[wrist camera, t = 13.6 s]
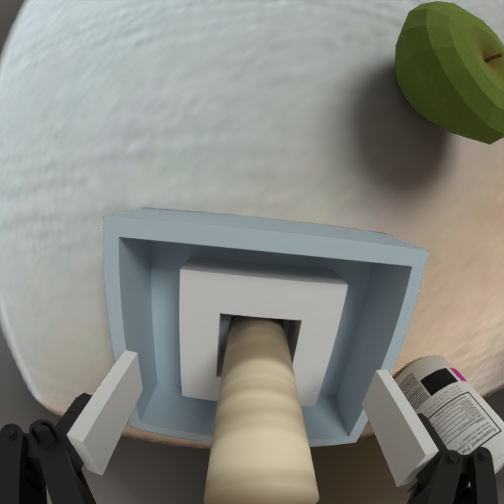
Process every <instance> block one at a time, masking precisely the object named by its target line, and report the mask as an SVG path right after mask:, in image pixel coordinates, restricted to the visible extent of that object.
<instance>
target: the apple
mask: <svg viewBox="0 0 504 504" xmlns="http://www.w3.org/2000/svg"><path fill="white" fill-rule="evenodd" d="M395 67H396V80H397V82H398V84H399V86H400V88H401V90H402V93H403V95H404V97H405V98H406V99H407V101H408V102H409V103H410V104H411V106H412V107H413V108H414V110H415V111H416V112H417V113H419V114H420V115H422V116H423V117H424V118H426V119H427V120H429V121H430V122H432V123H434V124H436V125H438V126H440V127H441V128H443V129H445V130H447V131H449V132H451V133H454V134H457V135H460V136H463V137H466V138H470V139H473V140H477V141H480V142H484V143H487V144H492V143H494V142H496V141H497V140H499V139H501V138H503V137H504V45H503V44H502V42H501V41H500V39H499V38H498V36H497V35H496V34H495V33H494V32H493V31H492V30H491V29H490V28H489V27H488V26H487V25H486V24H485V23H484V22H483V21H482V20H481V19H479V18H477V17H476V16H474V15H473V14H471V13H469V12H468V11H466V10H464V9H463V8H461V7H459V6H458V5H456V4H454V3H448V2H439V1H436V2H430V3H425V4H421V5H419V6H418V7H416V8H414V9H413V10H411V11H410V12H409V13H408V16H407V18H406V21H405V23H404V25H403V28H402V30H401V33H400V36H399V38H398V41H397V44H396V53H395Z"/></svg>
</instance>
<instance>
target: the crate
mask: <svg viewBox="0 0 504 504" xmlns="http://www.w3.org/2000/svg"><path fill="white" fill-rule="evenodd" d="M103 255H104V276H105V290H106V301H107V311H108V319H109V327H110V334H111V341H112V347H113V353H114V359H115V363H116V362H117V360H118V359H119V357H120V356H121V355H122V353H123V352H124V351H125V350H127V351H132V352H136V353H138V360H139V367H140V374H141V381H142V387H143V391H142V393H141V395H140V397H139V399H138V401H137V403H136V405H135V407H134V409H133V411H132V413H131V415H130V417H129V422H130V426H131V427H134V428H138V429H141V430H145V431H149V432H153V433H158V434H162V435H167V436H172V437H177V438H183V439H188V440H194V441H201V442H208V443H212V438H213V431H214V424H215V417H216V411H217V404H218V397H219V391H220V384H221V378H222V371H223V365H224V358H225V352H226V345H227V339H228V333H229V326H230V321H231V319H232V316H233V315H242V316H252V317H264V318H276V319H282V321H283V325H284V329H285V334H286V338H287V343H288V347H289V352H290V357H291V361H292V366H293V371H294V375H295V380H296V385H297V389H298V394H299V399H300V404H301V408H302V413H303V418H304V423H305V428H306V433H307V438H308V443H309V447H312V446H327V445H338V444H347V443H355V442H357V440H358V438H359V436H360V435H361V433H362V431H363V429H364V428H365V426H366V424H367V422H368V417H367V415H366V413H365V411H364V409H363V406H362V402H363V400H364V398H365V396H366V393H367V391H368V389H369V387H370V384H371V382H372V379H373V377H374V374H375V372H376V370H388V371H389V373H390V374H391V372H392V369H393V367H394V364H395V362H396V360H397V357H398V354H399V352H400V349H401V346H402V344H403V341H404V338H405V335H406V332H407V330H408V327H409V324H410V320H411V317H412V314H413V311H414V308H415V304H416V301H417V297H418V294H419V290H420V286H421V282H422V278H423V274H424V270H425V265H426V261H427V256H428V250H425V249H423V248H421V247H418V246H416V245H413V244H411V243H408V242H406V241H403V240H401V239H398V238H395V237H393V236H390V235H388V234H385V233H379V232H372V231H365V230H358V229H351V228H344V227H336V226H329V225H321V224H313V223H305V222H296V221H287V220H279V219H269V218H260V217H250V216H240V215H230V214H219V213H208V212H196V211H183V210H170V209H155V208H141V209H136V210H131V211H126V212H122V213H117V214H113V215H108V216H104V217H103Z"/></svg>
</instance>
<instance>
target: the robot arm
mask: <svg viewBox="0 0 504 504" xmlns="http://www.w3.org/2000/svg"><path fill="white" fill-rule="evenodd" d="M142 391H143V387H142V381H141V374H140V367H139V360H138V353H136V352H132V351H127V350H125V351H124V352H123V353H122V355H121V356H120V357H119V359H118V360H117V362H116V363H115V364H114V366H113V367H112V369H111V370H110V372H109V373H108V374H107V376H106V377H105V379H104V380H103V381H102V383H101V384H100V386H99V387H98V389H97V390H96V392H95V393H94V395H93V396H92V395H89V394H86V393H83V394H81V395H80V396H78V397H77V398H76V399H75V400H74V401H73V403H72V404H71V406H70V407H69V408H68V410H67V412H65V414H64V415H63V417H62V418H61V419H60V421H59V423H58V424H57V425H56V427H55V426H54V424H53V423H52V422H50V421H48V420H43V419H40V420H37V421H35V422H33V423H32V424H31V426H30V427H29V433H30V434H27V433H24V432H23V431H22V429H21V428H20V427H19V426H18V425H16V424H7V425H5V426H4V427H3V428H2V429H1V431H0V504H47V493H46V486H47V489H48V492H49V495H50V498H51V501H52V504H96V502H95V500H94V498H93V496H92V493H91V491H90V489H89V486H88V484H87V482H86V479H85V477H84V474H83V472H82V470H81V468H82V466H83V464H84V465H85V466H86V468H87V469H88V470H90V471H92V472H95V473H97V474H100V475H103V473H104V471H105V468H106V466H107V464H108V462H109V460H110V457H111V455H112V453H113V451H114V449H115V447H116V444H117V442H118V440H119V438H120V436H121V434H122V432H123V430H124V427H125V425H126V423H127V421H128V419H129V417H130V415H131V413H132V411H133V409H134V407H135V405H136V403H137V401H138V399H139V397H140V395H141V393H142ZM362 406H363V409H364V411H365V413H366V415H367V417H368V420H369V422H370V424H371V426H372V429H373V431H374V433H375V435H376V438H377V440H378V442H379V445H380V447H381V449H382V452H383V454H384V456H385V459H386V461H387V463H388V466H389V468H390V470H391V473H392V475H393V478H394V480H395V483H396V485H397V487H398V486H401V485H404V484H408V483H410V482H411V481H412V480H413V479H414V478H415V477H417V480H418V481H417V482H416V483H415V484H414V485H413V486H412V487H411V488H410V489H409V490H408V492H410V491H411V490H412V489H413V491H412V493H411V496H410V498H409V500H408V502H407V504H498V500H497V488H496V479H495V472H494V465H493V459H492V454H491V452H490V451H489V449H487V448H485V447H478V448H476V449H475V450H474V452H473V453H472V454H466V455H461V454H460V453H458V452H457V451H455V450H448V449H447V447H446V446H445V444H444V443H443V441H442V439H441V438H440V436H439V435H438V433H437V432H436V431H435V428H434V427H433V426H432V424H431V422H430V421H429V419H428V418H427V417H426V416H424V415H423V414H422V413H418V414H416V413H415V411H414V410H413V408H412V406H411V405H410V403H409V402H408V400H407V399H406V397H405V396H404V394H403V392H402V391H401V389H400V388H399V386H398V385H397V383H396V382H395V380H394V379H393V377H392V376H391V374H390V373H389V371H388V370H376V372H375V374H374V377H373V379H372V382H371V384H370V387H369V389H368V391H367V393H366V396H365V398H364V400H363V402H362ZM469 483H470V487H469Z"/></svg>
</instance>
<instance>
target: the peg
mask: <svg viewBox="0 0 504 504" xmlns="http://www.w3.org/2000/svg"><path fill="white" fill-rule="evenodd" d="M318 500H319V494H318V489H317V483H316V478H315V473H314V468H313V463H312V458H311V453H310V448H309V443H308V438H307V433H306V428H305V423H304V418H303V413H302V408H301V404H300V399H299V394H298V389H297V385H296V380H295V375H294V371H293V366H292V361H291V357H290V352H289V347H288V343H287V338H286V334H285V329H284V325H283V321H282V319H276V318H264V317H252V316H242V315H233V316H232V319H231V321H230V326H229V333H228V339H227V345H226V352H225V358H224V365H223V371H222V378H221V384H220V391H219V397H218V404H217V411H216V417H215V424H214V431H213V438H212V445H211V452H210V459H209V466H208V473H207V480H206V487H205V494H204V504H316V503H317V501H318Z"/></svg>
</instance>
